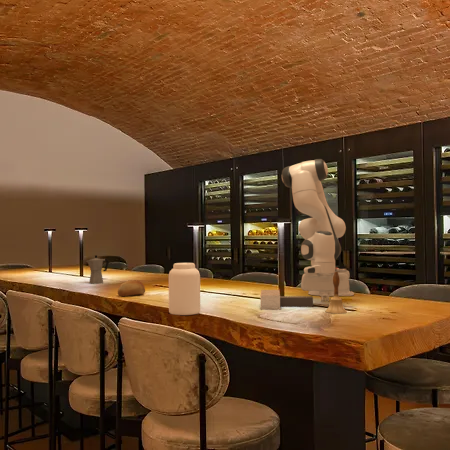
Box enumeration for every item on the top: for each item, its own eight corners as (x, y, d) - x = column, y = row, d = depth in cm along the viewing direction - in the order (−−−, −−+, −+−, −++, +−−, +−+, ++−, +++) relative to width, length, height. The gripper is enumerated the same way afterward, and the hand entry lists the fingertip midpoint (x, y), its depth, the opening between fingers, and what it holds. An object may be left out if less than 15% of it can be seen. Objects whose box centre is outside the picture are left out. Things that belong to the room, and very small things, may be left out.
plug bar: (312, 305, 224) (312, 296, 224) (313, 307, 220) (313, 297, 220) (275, 305, 225) (275, 296, 225) (275, 306, 221) (275, 297, 221)
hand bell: (347, 311, 208) (347, 271, 208) (345, 314, 200) (345, 272, 200) (327, 310, 210) (326, 270, 211) (324, 313, 203) (323, 272, 203)
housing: (279, 302, 233) (279, 289, 233) (280, 309, 213) (279, 295, 213) (261, 302, 234) (261, 289, 234) (260, 309, 214) (260, 295, 214)
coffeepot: (89, 284, 327) (88, 255, 327) (83, 283, 335) (83, 255, 335) (112, 282, 336) (111, 255, 336) (106, 281, 344) (106, 254, 344)
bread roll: (149, 295, 267) (149, 280, 267) (123, 298, 258) (123, 282, 258) (140, 293, 274) (140, 278, 275) (114, 296, 265) (114, 280, 265)
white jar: (188, 316, 198) (187, 264, 198) (162, 314, 205) (162, 263, 205) (206, 312, 209) (205, 262, 209) (181, 309, 215) (181, 261, 216)
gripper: (348, 268, 224) (348, 300, 224) (300, 268, 226) (301, 300, 225) (350, 269, 217) (351, 302, 217) (301, 269, 219) (301, 302, 219)
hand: (325, 301), depth 221 cm, fingers closed
